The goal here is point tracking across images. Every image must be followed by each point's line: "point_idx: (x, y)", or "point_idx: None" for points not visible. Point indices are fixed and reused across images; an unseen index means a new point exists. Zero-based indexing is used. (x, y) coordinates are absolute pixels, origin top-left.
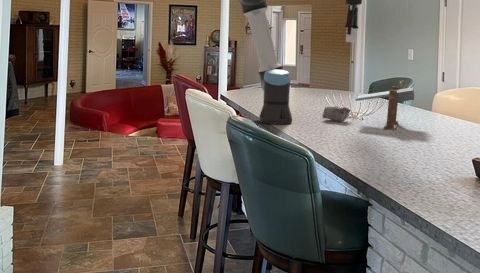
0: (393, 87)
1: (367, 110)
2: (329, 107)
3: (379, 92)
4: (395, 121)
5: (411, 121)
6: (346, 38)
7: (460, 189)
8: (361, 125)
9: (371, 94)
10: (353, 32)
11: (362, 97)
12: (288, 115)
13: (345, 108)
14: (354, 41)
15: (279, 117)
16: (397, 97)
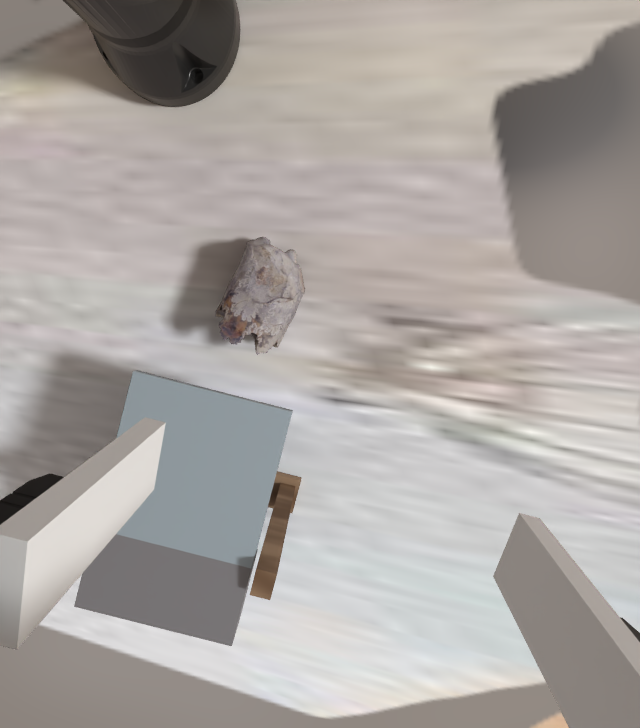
0: (256, 571)
1: (600, 459)
2: (252, 264)
3: (264, 500)
4: (275, 501)
5: (335, 558)
6: (120, 442)
7: None
8: (198, 377)
9: (224, 456)
10: (579, 669)
11: (138, 403)
12: (122, 74)
13: (223, 331)
14: (500, 572)
15: (94, 35)
16: None
